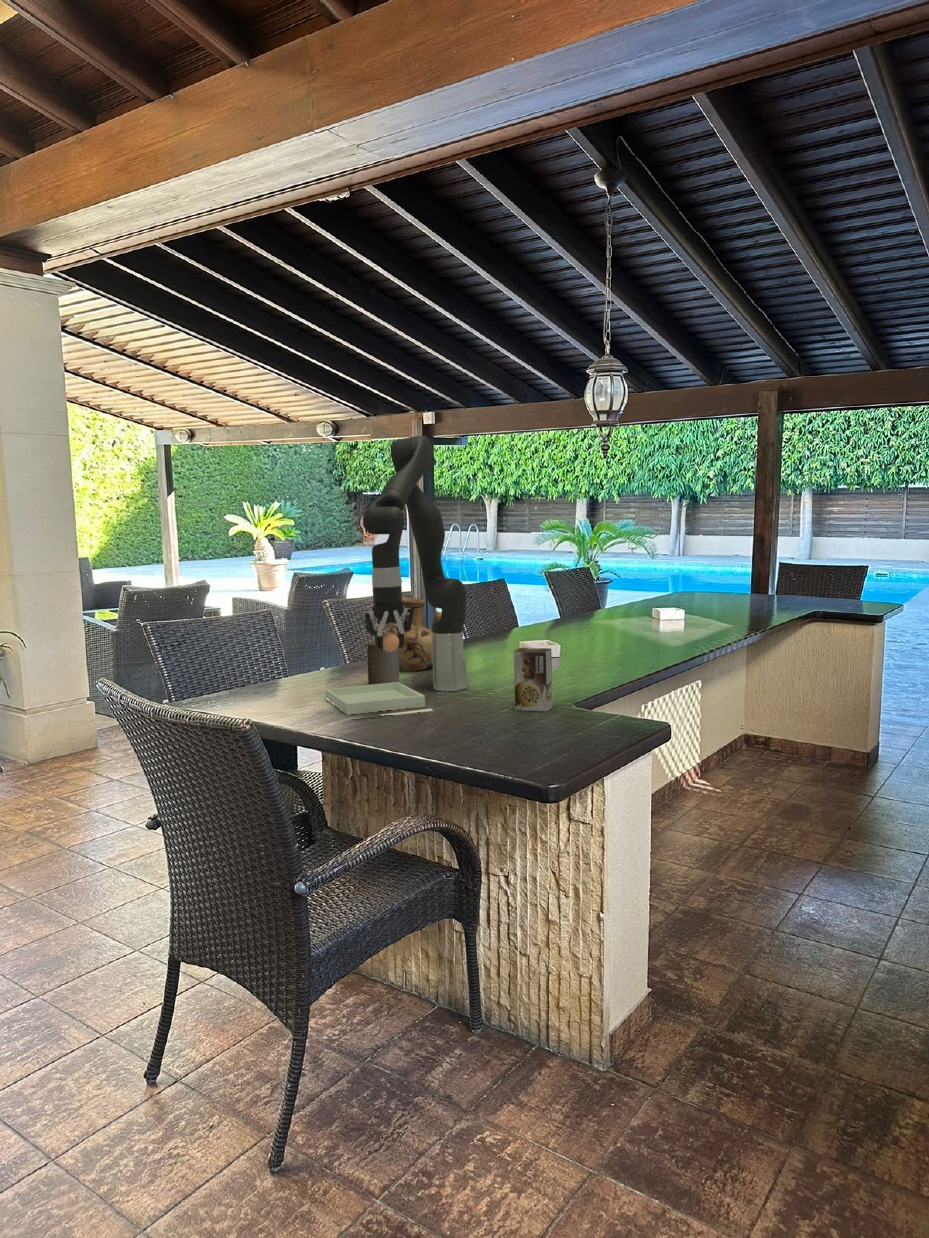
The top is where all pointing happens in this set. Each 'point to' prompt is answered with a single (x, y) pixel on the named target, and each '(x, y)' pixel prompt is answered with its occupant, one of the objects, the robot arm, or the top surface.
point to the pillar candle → (382, 665)
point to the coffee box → (533, 679)
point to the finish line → (408, 712)
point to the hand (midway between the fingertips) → (389, 648)
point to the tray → (375, 697)
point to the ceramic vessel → (416, 638)
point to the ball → (390, 642)
